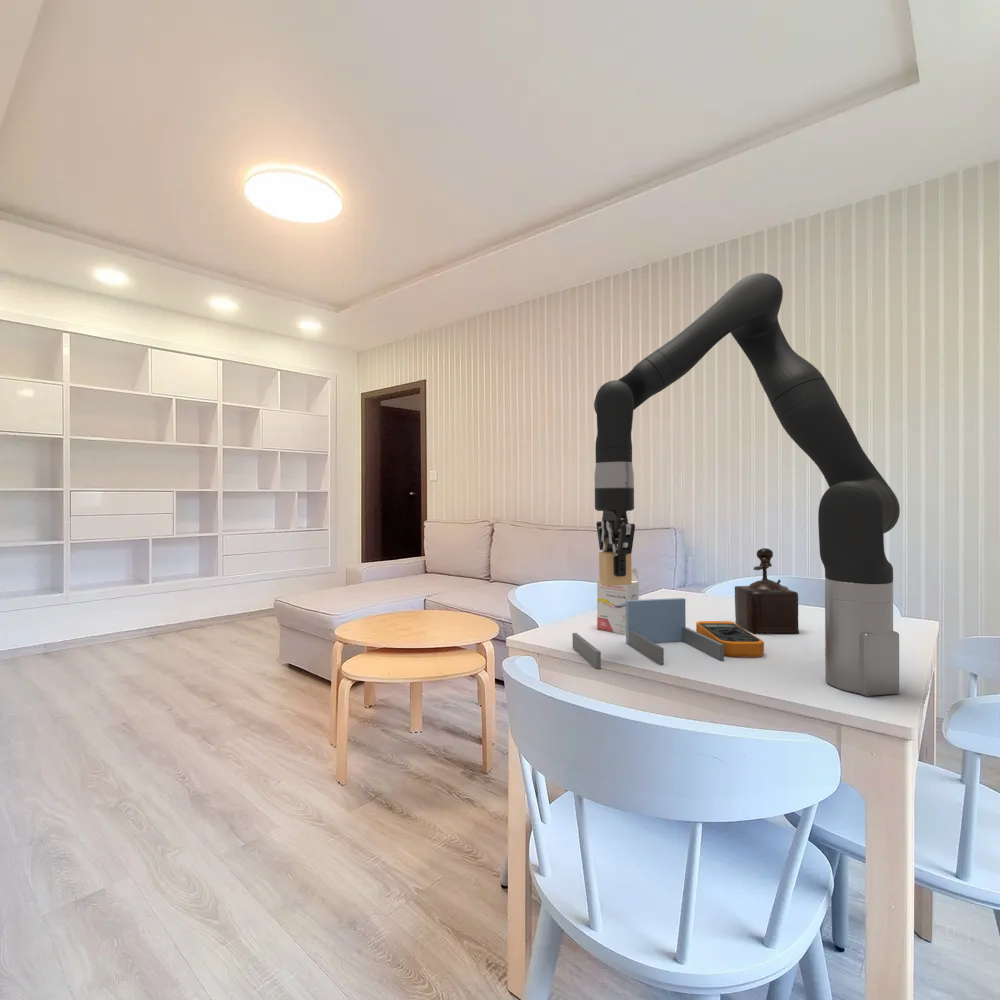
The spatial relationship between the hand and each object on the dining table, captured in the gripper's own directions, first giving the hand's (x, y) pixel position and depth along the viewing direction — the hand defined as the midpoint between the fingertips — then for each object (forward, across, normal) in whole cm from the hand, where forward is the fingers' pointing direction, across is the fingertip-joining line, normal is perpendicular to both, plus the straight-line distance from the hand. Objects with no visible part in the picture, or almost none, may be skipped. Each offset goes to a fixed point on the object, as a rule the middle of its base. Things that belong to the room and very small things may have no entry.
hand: (615, 574), depth 105 cm
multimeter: (+17, +3, -26) cm, 31 cm away
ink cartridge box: (+16, +19, -8) cm, 26 cm away
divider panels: (+16, 0, -6) cm, 17 cm away
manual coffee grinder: (+16, +16, -43) cm, 49 cm away
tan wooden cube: (+2, 0, 0) cm, 2 cm away
